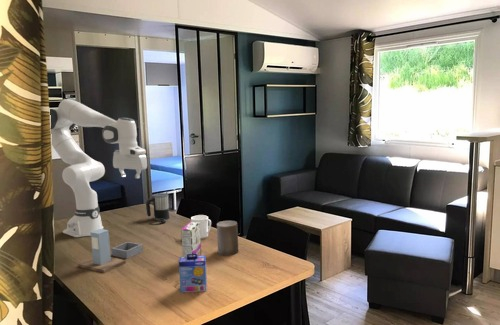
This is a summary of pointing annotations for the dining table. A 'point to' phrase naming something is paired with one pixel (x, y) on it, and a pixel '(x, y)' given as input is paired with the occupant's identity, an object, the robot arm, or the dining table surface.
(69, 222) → the robot arm
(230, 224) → the pillar candle
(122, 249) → the gray bin
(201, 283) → the ink cartridge box
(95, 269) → the walnut board
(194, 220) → the mug
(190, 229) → the candy bar box
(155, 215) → the milk frother
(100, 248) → the slate box
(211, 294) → the dining table surface
